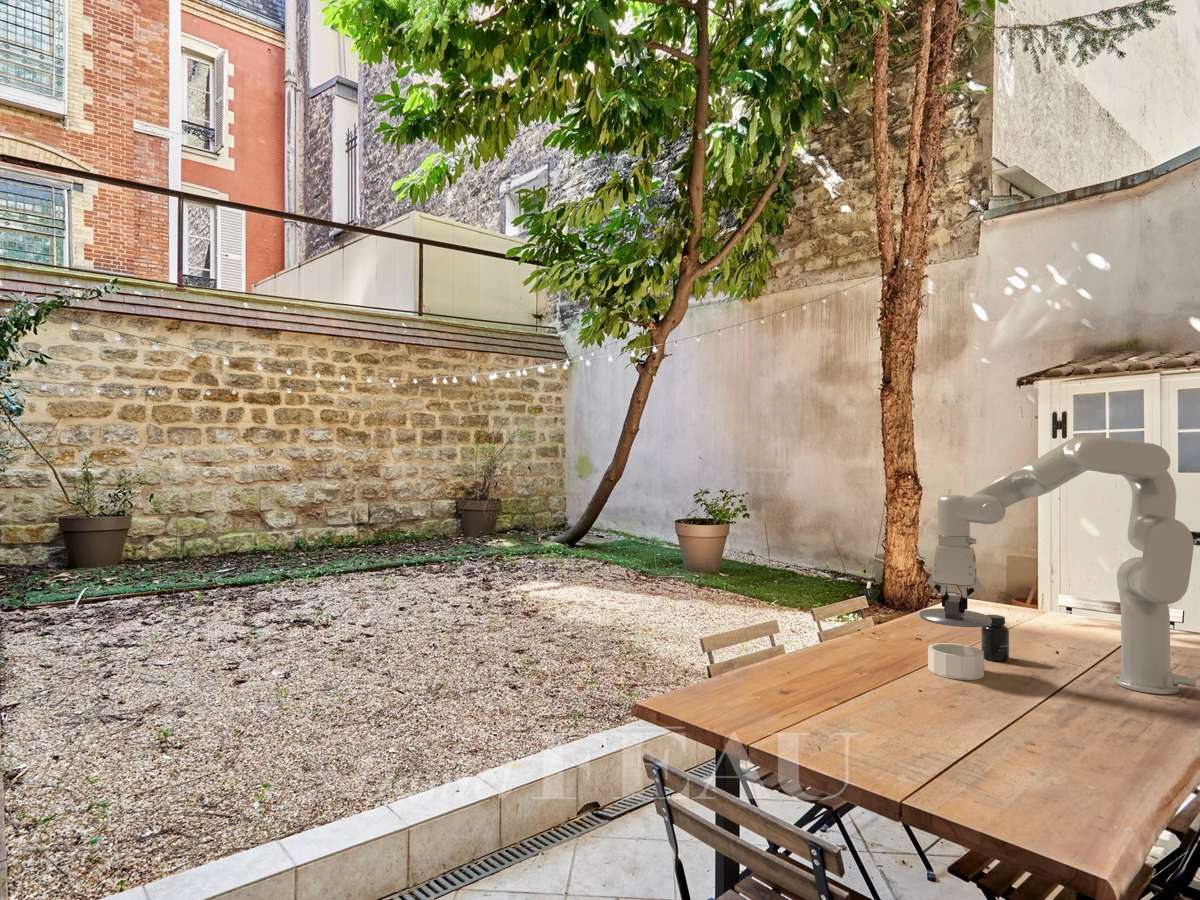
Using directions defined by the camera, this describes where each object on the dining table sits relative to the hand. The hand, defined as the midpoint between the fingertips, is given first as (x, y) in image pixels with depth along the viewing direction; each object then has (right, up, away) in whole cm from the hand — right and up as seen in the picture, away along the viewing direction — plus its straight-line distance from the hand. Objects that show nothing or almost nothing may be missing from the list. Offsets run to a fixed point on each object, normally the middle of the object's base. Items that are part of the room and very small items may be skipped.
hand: (954, 610), depth 182 cm
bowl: (0, -16, 0) cm, 16 cm away
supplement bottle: (+17, -16, +11) cm, 26 cm away
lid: (0, -2, 0) cm, 2 cm away
